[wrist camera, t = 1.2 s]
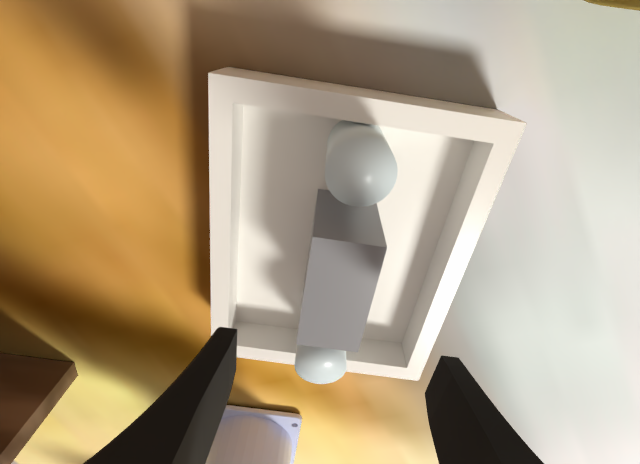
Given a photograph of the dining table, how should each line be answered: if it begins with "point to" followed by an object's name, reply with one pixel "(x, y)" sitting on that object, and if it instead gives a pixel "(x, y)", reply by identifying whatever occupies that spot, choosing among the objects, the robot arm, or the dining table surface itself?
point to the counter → (28, 397)
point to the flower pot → (618, 3)
